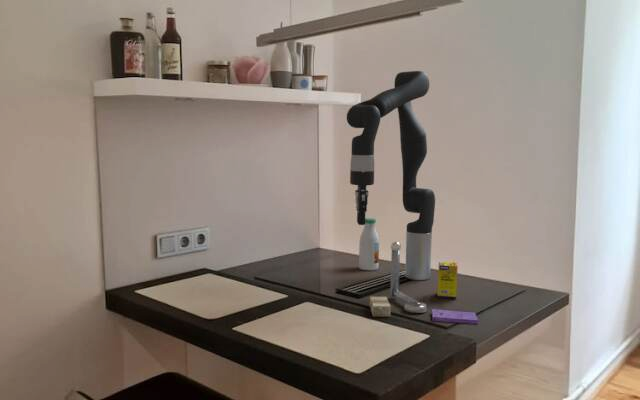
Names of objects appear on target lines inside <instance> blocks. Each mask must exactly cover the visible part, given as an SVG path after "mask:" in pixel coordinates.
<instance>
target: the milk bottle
mask: <svg viewBox="0 0 640 400" xmlns="http://www.w3.org/2000/svg"><path fill="white" fill-rule="evenodd" d="M376 222H377V221H376V218H373V217H365V225H363V230H362V232H361V233H360V236H359V244H358V245H359V247H358V249H359V250H358V268H359V269H360V270H363V271H377V270H378V269H379V261H380V260H379V259H380V239H379V235H378V232H377V229H376Z"/></svg>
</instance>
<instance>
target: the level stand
mask: <svg viewBox="0 0 640 400" xmlns="http://www.w3.org/2000/svg"><path fill="white" fill-rule="evenodd" d="M369 308H370V311H371V314H372V317H380V318H381V317H389V318H391V310H392V309H391V308H392V307H391V303H390V302H389V300H388V298H387V296H369Z"/></svg>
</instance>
